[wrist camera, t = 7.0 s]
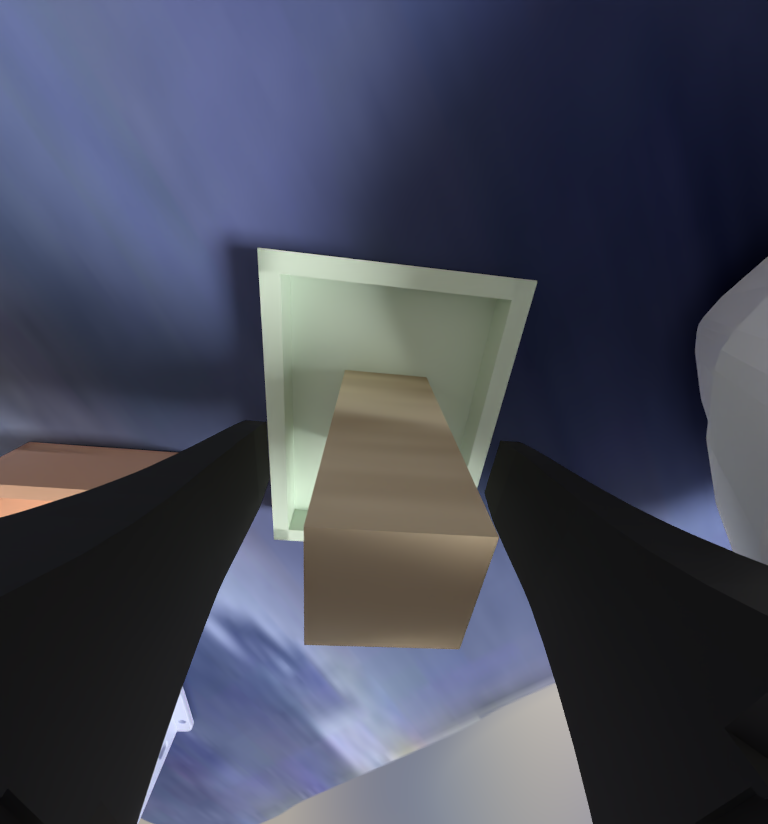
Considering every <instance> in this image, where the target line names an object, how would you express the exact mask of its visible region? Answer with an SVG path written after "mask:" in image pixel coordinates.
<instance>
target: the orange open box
mask: <svg viewBox="0 0 768 824" xmlns="http://www.w3.org/2000/svg"><path fill="white" fill-rule="evenodd" d="M175 454H177V452H163V451H149V450H135V449H121V448H107V447H93V446H79V445H65V444H51V443H37V442H28V443H26V444H24V445H22V446H20V447H18V448H17V449H15V450H13V451H11V452H9V453H7V454H5V455H3V456H1V457H0V517H4V516H7V515H11V514H15V513H18V512H21V511H25V510H28V509H31V508H34V507H37V506H41V505H44V504H47V503H50V502H53V501H56V500H59V499H62V498H66V497H69V496H72V495H75V494H78V493H81V492H84V491H87V490H90V489H93V488H96V487H98V486H101V485H104V484H106V483H109V482H112V481H114V480H117V479H120V478H122V477H125V476H127V475H130V474H132V473H135V472H137V471H140V470H142V469H144V468H147V467H149V466H151V465H153V464H155V463H158V462H160V461H162V460H164V459H166V458H168V457H171V456H173V455H175Z"/></svg>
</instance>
